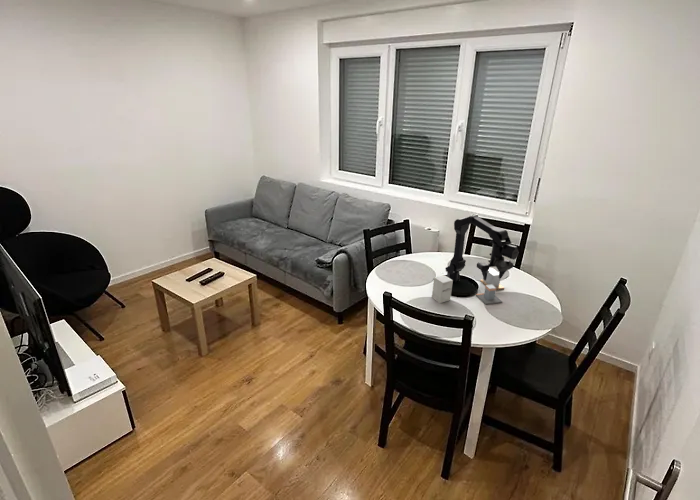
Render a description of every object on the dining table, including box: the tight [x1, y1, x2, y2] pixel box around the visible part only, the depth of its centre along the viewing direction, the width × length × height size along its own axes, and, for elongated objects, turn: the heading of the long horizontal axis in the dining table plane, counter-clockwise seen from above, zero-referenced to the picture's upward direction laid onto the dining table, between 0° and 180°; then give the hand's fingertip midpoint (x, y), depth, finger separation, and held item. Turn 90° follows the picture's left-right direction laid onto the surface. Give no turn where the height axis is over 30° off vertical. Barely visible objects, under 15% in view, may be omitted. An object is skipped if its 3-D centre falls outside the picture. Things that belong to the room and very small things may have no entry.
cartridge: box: [484, 285, 497, 300], centre depth 209 cm, size 4×4×7 cm
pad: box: [475, 292, 503, 306], centre depth 211 cm, size 10×10×1 cm
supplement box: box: [431, 274, 453, 304], centre depth 208 cm, size 7×7×13 cm
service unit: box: [479, 267, 505, 291], centre depth 224 cm, size 8×12×9 cm, turn 14°
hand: (492, 279), depth 206 cm, fingers open, 9 cm apart
